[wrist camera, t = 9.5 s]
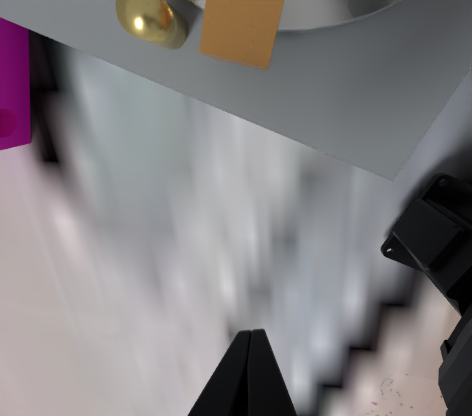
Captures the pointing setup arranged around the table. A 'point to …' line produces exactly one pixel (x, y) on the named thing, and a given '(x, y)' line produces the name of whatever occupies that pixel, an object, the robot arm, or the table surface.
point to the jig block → (297, 72)
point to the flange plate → (323, 13)
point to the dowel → (153, 22)
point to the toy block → (14, 85)
